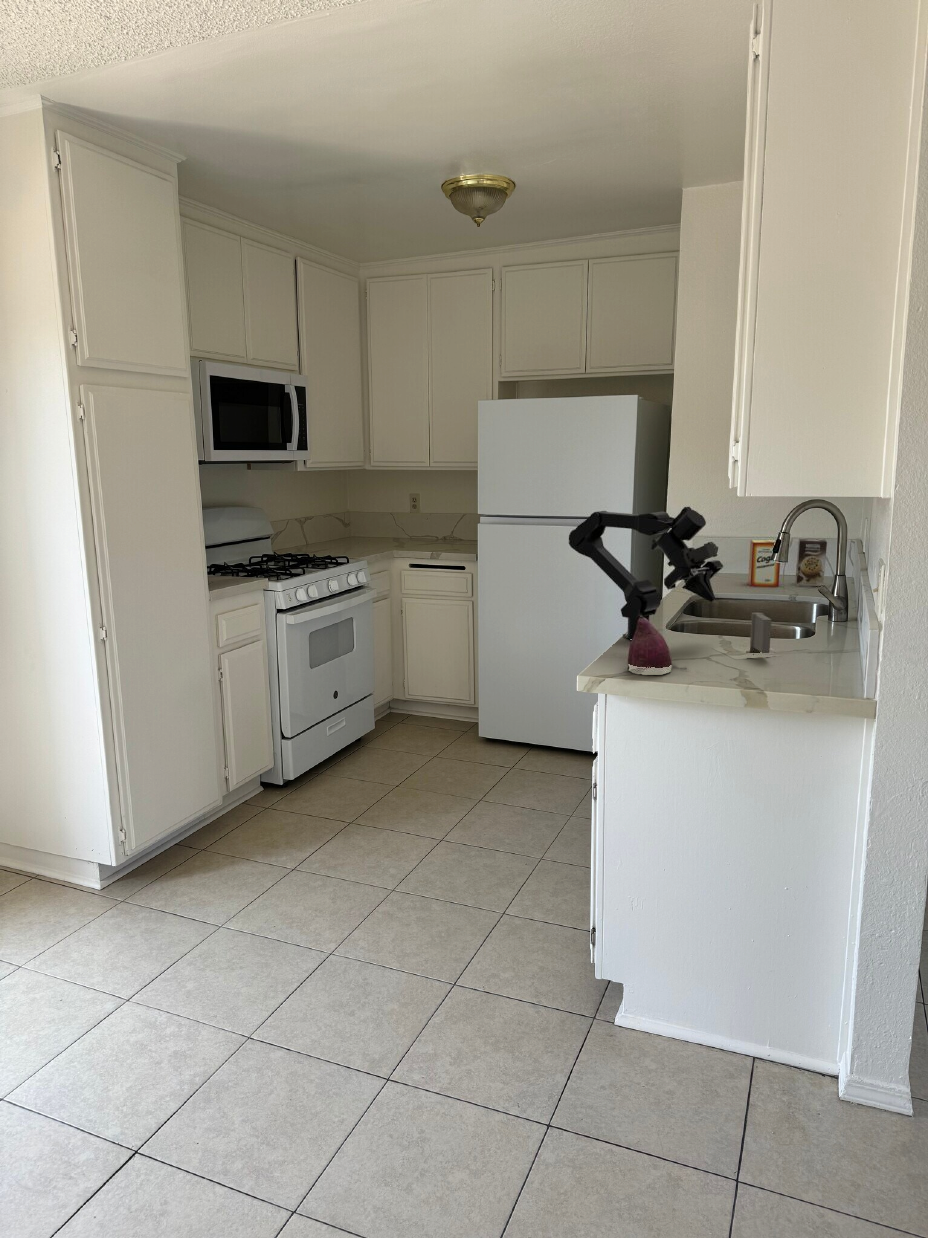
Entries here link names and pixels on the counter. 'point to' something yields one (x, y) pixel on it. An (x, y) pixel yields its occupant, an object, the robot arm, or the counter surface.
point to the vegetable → (648, 647)
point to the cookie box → (810, 562)
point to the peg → (760, 633)
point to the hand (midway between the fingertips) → (713, 600)
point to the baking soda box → (763, 565)
